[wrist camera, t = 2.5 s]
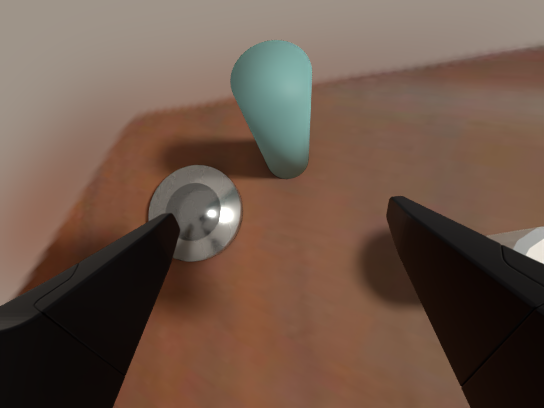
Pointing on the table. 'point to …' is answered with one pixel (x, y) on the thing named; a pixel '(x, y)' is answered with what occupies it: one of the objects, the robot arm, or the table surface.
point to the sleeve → (276, 103)
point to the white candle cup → (524, 242)
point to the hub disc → (200, 210)
